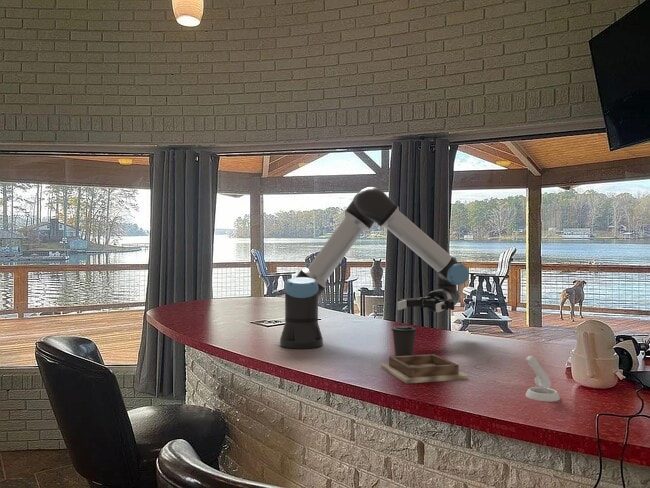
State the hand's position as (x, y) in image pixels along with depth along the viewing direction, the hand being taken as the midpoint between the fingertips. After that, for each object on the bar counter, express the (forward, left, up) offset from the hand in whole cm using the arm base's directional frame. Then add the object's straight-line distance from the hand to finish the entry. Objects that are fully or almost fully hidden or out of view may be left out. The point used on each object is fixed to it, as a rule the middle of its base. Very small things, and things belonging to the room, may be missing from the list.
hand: (417, 307), depth 181 cm
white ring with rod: (+7, -55, -15) cm, 57 cm away
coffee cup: (-8, -7, -15) cm, 18 cm away
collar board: (-11, -27, -15) cm, 32 cm away
